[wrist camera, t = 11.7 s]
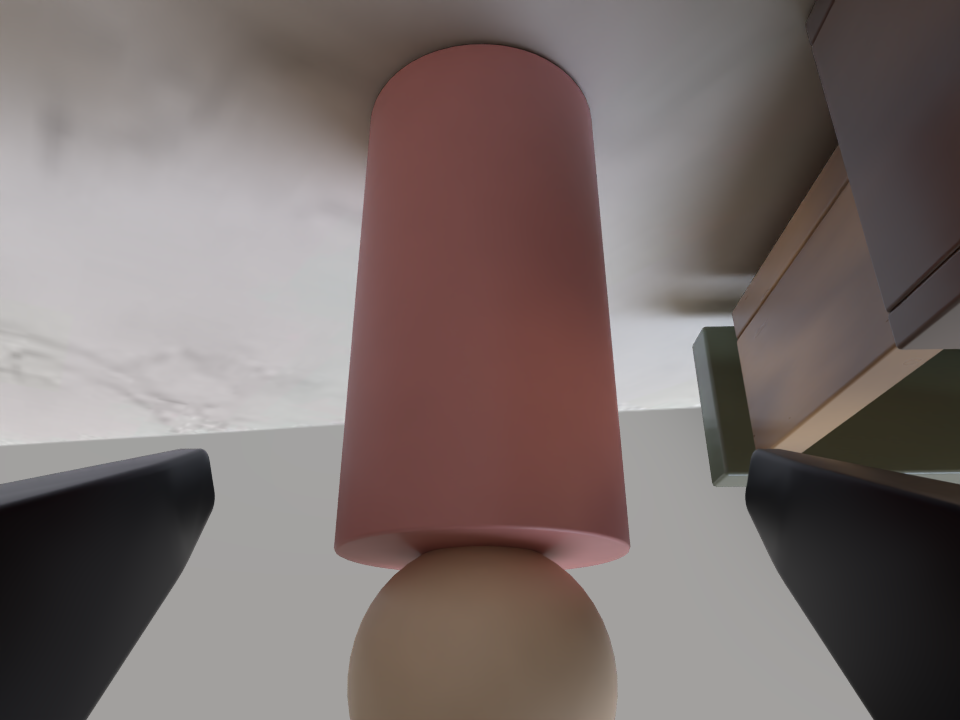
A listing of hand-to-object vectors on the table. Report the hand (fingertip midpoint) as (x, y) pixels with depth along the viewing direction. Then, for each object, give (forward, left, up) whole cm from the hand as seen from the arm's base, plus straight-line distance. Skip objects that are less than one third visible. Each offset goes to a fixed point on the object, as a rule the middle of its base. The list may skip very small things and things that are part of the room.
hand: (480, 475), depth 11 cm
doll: (-1, +1, -6) cm, 6 cm away
